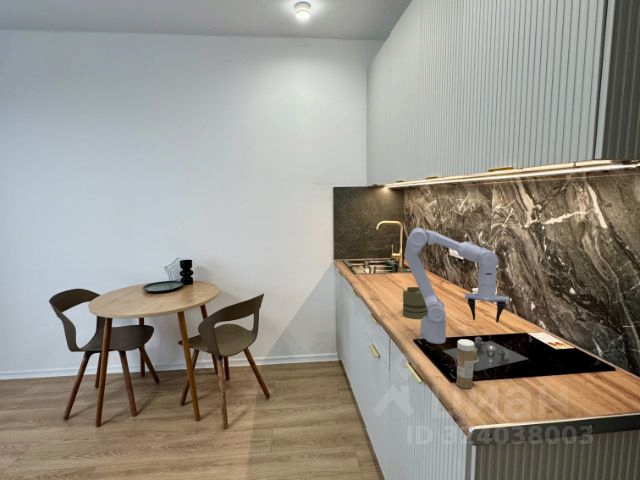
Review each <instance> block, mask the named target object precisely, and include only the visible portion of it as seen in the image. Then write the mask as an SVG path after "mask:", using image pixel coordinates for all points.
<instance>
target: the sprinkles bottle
mask: <svg viewBox="0 0 640 480" xmlns="http://www.w3.org/2000/svg"><path fill="white" fill-rule="evenodd" d="M474 344H475V341H473V340H470V339H465V338H464V339H458V340H457V344H456V345H457V347H456V348H458V360H457V364H456V365H457V367H456V385H457V386H458V387H459V388H462V389H472V388H473V385H474V384H473V377H474V375H473V374H474V370H473V351H474Z"/></svg>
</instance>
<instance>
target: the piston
mask: <svg viewBox="0 0 640 480" xmlns="http://www.w3.org/2000/svg"><path fill="white" fill-rule="evenodd" d="M427 315H428V309H427V306H426V304H425V301H424V298H423V296H422V293H421V291H420V289H419V287H418V286H407V288H406V290H405V289H403V290H402V316H403V317H404V318H406V319H411V320H422V318H423V317H425V316H427Z"/></svg>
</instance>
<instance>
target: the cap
mask: <svg viewBox="0 0 640 480" xmlns="http://www.w3.org/2000/svg"><path fill="white" fill-rule="evenodd" d="M473 361H477V348H476V347H475V346H474V351H473Z"/></svg>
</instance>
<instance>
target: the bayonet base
mask: <svg viewBox="0 0 640 480" xmlns="http://www.w3.org/2000/svg"><path fill="white" fill-rule="evenodd" d="M474 346H475V347H476V348H477V361H473V371H476V372H479V371H483V370H488V369H490V368H495V367H500V366H504V365H507V364H512V363H517V362H520V361H525V360H529V358H528V357H526V356H524V355H521V354H520V353H517V352H515V351H513V350H511V349H508V348H507V347H504V346H503V345H501V344H498V343H496V342H494V341H492V340H489V341H483V338H482V337H480V336H477V337H474ZM442 352H444V353H445V354H447V355H449V356H451V357H452V358H453V359H455V360H457V361H458V347H455V348H450V349H444V350H442Z"/></svg>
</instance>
